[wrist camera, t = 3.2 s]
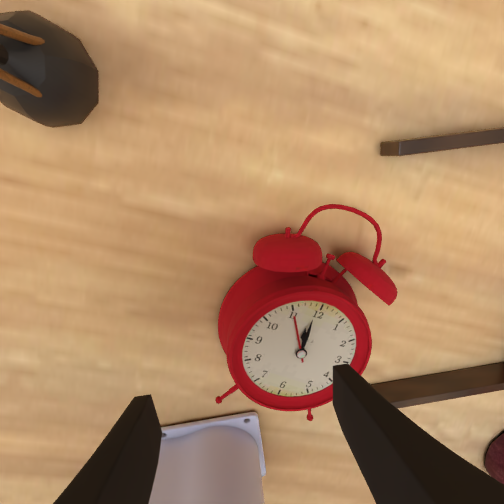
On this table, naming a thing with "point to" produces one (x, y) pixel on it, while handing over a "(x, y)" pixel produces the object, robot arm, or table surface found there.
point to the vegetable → (496, 459)
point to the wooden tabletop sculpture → (45, 71)
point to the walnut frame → (458, 380)
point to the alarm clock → (298, 320)
